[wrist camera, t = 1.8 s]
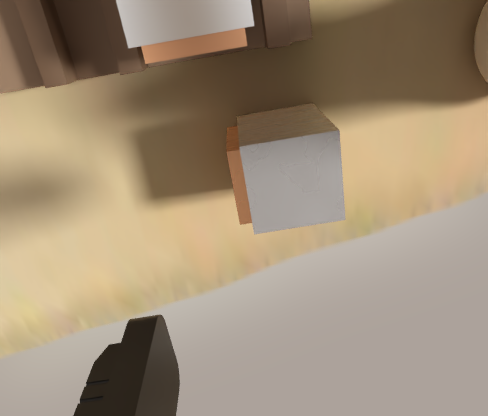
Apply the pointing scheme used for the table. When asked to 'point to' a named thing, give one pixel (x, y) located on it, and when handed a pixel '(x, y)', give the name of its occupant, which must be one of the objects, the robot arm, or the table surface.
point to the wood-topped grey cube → (286, 168)
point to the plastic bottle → (482, 43)
